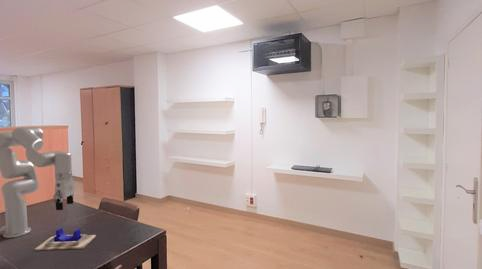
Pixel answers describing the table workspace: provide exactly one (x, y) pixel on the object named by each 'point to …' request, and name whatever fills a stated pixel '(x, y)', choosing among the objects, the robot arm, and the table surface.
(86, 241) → the clip cradle
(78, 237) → the blue curved piece
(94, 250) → the table surface
